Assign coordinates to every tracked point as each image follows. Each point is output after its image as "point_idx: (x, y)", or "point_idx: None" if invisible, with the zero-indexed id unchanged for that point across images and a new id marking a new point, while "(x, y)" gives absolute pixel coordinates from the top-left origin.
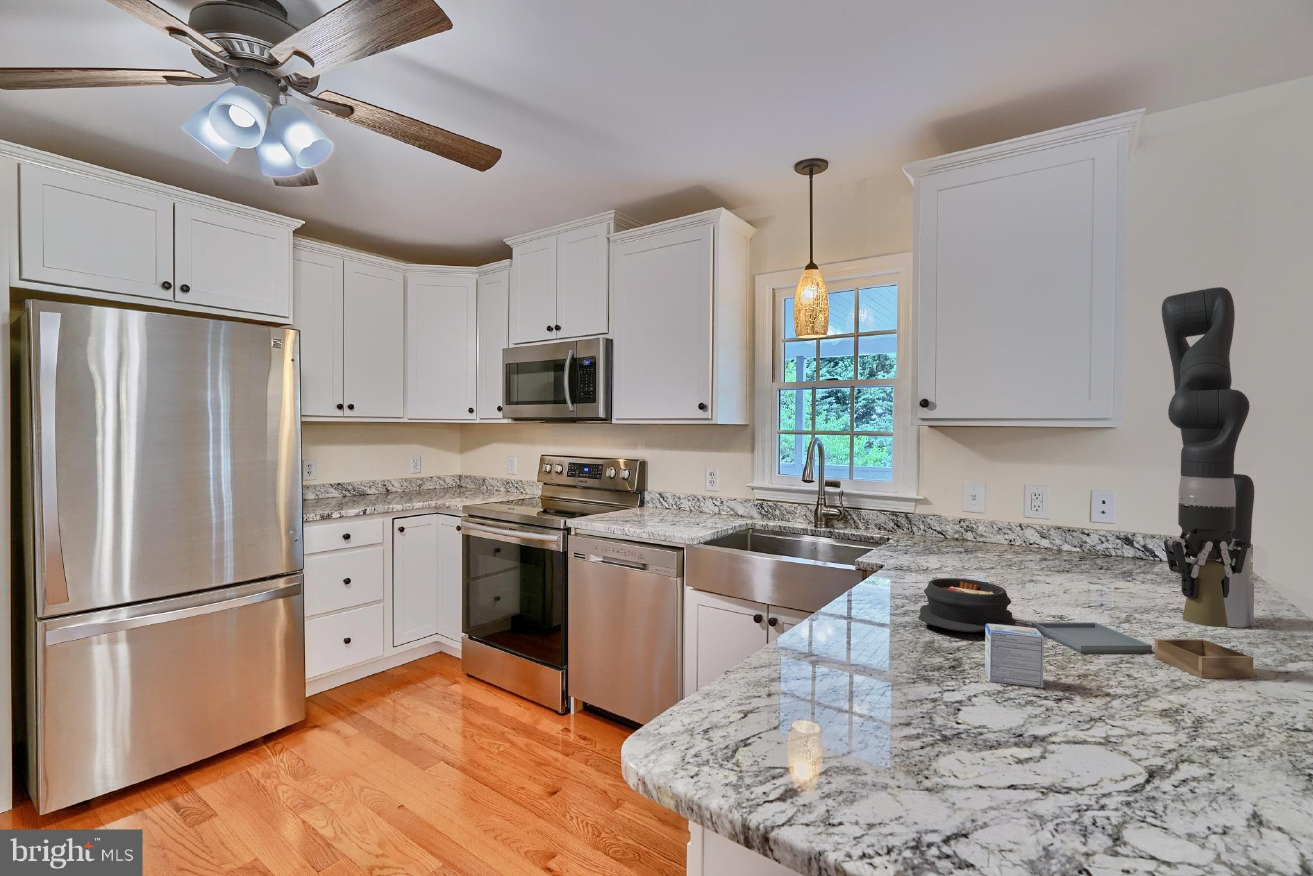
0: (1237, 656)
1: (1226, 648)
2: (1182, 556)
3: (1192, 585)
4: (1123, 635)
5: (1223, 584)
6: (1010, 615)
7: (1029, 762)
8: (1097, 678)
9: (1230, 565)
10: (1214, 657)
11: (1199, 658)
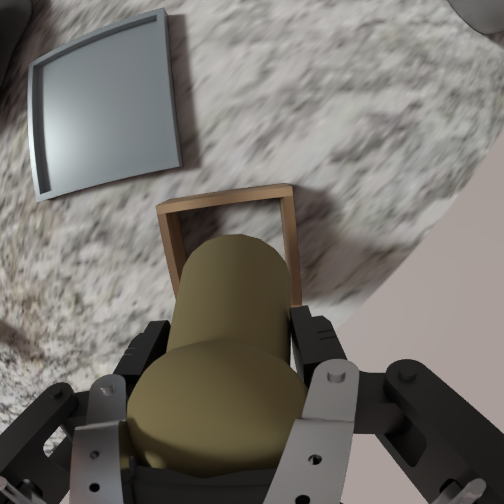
0: None
1: (293, 257)
2: (55, 492)
3: None
4: (162, 91)
5: None
6: (10, 49)
7: (6, 423)
8: (39, 312)
9: (398, 418)
10: None
11: None
